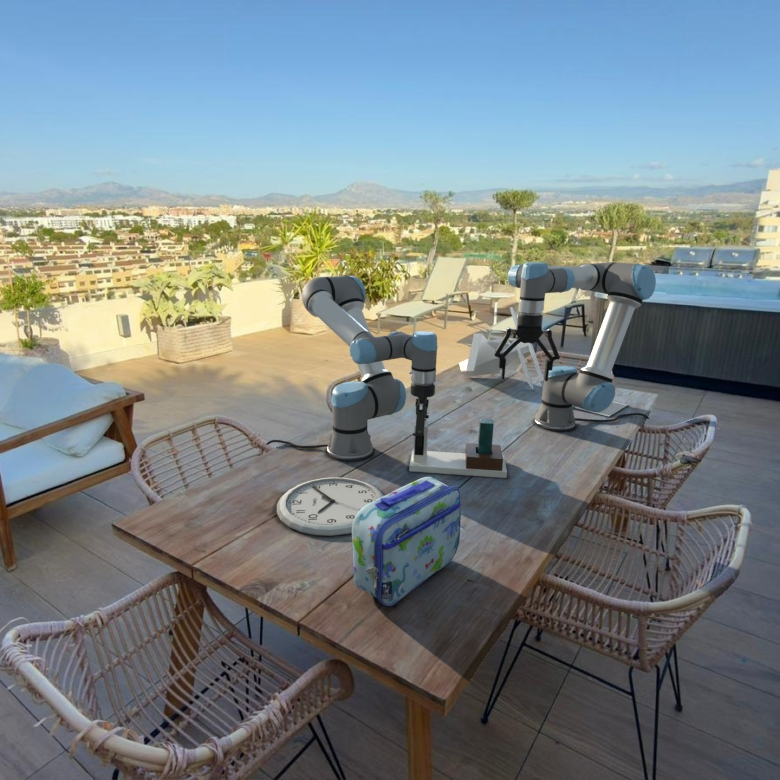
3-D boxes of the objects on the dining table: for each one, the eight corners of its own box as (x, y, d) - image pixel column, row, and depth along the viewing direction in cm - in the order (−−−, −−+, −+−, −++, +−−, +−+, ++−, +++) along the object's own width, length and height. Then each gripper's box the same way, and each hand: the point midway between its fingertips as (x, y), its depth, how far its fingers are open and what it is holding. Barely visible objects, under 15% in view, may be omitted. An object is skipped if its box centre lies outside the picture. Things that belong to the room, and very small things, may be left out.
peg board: (503, 461, 172) (506, 421, 167) (506, 478, 160) (510, 435, 156) (412, 455, 175) (413, 416, 171) (409, 471, 164) (410, 429, 159)
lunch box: (381, 619, 101) (382, 525, 95) (345, 592, 109) (344, 503, 102) (464, 563, 119) (469, 480, 113) (428, 543, 126) (432, 464, 120)
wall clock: (392, 527, 129) (268, 531, 127) (391, 533, 130) (269, 537, 127) (383, 473, 158) (282, 475, 155) (383, 478, 158) (282, 480, 156)
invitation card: (608, 416, 214) (573, 407, 224) (608, 416, 214) (573, 408, 224) (628, 404, 229) (594, 396, 238) (628, 405, 229) (594, 397, 238)
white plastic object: (480, 418, 266) (459, 395, 242) (461, 346, 288) (441, 318, 264) (550, 394, 254) (536, 368, 229) (526, 321, 276) (510, 289, 251)
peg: (489, 460, 168) (492, 419, 164) (490, 465, 164) (493, 423, 160) (476, 459, 168) (479, 418, 164) (477, 464, 164) (480, 422, 160)
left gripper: (413, 370, 173) (411, 430, 179) (407, 394, 149) (405, 461, 156) (436, 372, 172) (433, 431, 179) (433, 395, 148) (430, 463, 155)
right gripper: (569, 313, 165) (561, 377, 171) (489, 310, 167) (484, 374, 174) (574, 316, 158) (566, 384, 164) (490, 313, 160) (485, 380, 167)
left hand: (420, 445), depth 167 cm, fingers open, 13 cm apart
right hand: (524, 379), depth 169 cm, fingers open, 13 cm apart
